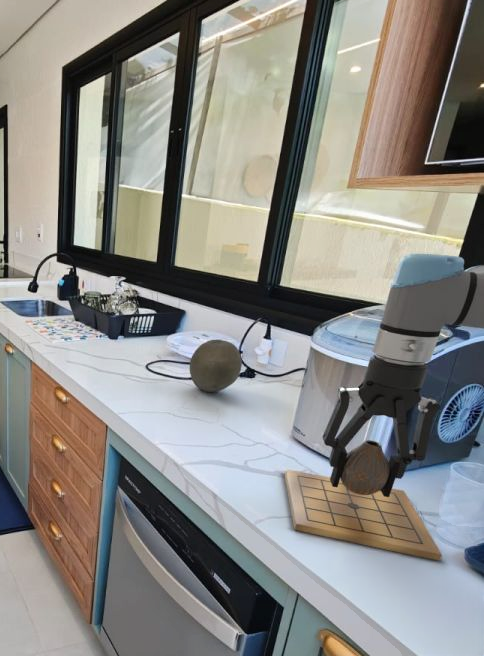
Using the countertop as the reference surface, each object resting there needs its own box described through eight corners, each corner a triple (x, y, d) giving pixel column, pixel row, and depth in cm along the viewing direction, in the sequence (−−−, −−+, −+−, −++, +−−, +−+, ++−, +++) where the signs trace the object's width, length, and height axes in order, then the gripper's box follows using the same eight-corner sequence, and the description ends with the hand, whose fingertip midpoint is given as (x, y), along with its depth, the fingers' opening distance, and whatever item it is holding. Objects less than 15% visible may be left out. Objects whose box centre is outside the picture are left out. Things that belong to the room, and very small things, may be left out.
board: (402, 496, 93) (404, 490, 93) (439, 561, 76) (442, 554, 75) (284, 474, 100) (285, 468, 99) (294, 529, 82) (295, 523, 82)
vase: (343, 496, 84) (357, 449, 80) (329, 476, 90) (342, 432, 87) (389, 502, 82) (405, 455, 79) (372, 482, 89) (387, 437, 85)
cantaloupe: (175, 390, 145) (183, 339, 139) (202, 380, 153) (210, 332, 148) (220, 404, 135) (230, 350, 129) (246, 393, 143) (256, 342, 138)
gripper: (331, 356, 77) (297, 486, 86) (488, 374, 71) (434, 512, 80) (324, 345, 84) (292, 466, 92) (467, 361, 78) (419, 489, 86)
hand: (358, 487), depth 86 cm, fingers closed on vase, 7 cm apart
